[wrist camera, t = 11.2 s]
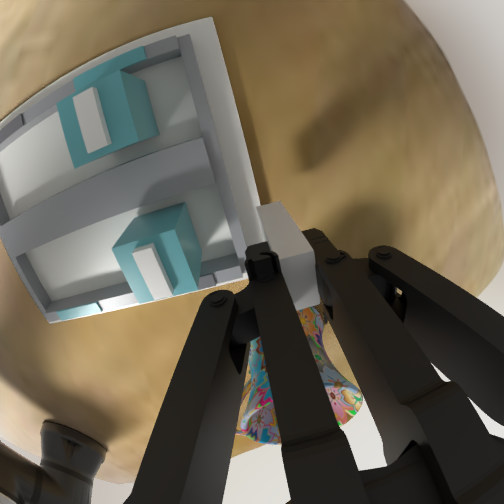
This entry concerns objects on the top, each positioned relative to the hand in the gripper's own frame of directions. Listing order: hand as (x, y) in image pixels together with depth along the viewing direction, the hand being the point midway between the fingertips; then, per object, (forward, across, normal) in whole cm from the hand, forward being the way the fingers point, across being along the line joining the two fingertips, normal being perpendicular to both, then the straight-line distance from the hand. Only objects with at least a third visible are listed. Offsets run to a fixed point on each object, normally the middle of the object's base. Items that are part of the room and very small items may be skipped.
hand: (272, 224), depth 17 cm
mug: (+5, -2, -14) cm, 14 cm away
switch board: (+4, -12, +4) cm, 14 cm away
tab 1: (+3, -8, +9) cm, 12 cm away
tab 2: (+3, -7, 0) cm, 8 cm away
